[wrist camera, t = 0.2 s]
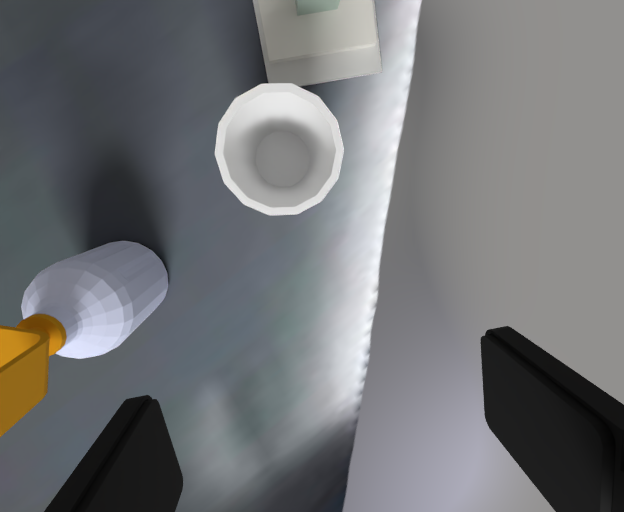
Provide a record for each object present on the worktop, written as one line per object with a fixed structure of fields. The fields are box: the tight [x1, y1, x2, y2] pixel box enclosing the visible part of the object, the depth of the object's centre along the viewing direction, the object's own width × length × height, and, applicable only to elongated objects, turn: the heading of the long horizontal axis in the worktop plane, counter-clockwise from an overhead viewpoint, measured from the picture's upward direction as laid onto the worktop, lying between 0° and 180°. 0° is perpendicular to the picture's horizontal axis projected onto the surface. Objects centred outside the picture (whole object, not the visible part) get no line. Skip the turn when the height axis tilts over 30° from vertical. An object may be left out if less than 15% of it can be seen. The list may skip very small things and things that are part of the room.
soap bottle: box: [0, 241, 168, 437], centre depth 28 cm, size 9×9×25 cm
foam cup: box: [215, 83, 344, 215], centre depth 31 cm, size 10×9×13 cm
